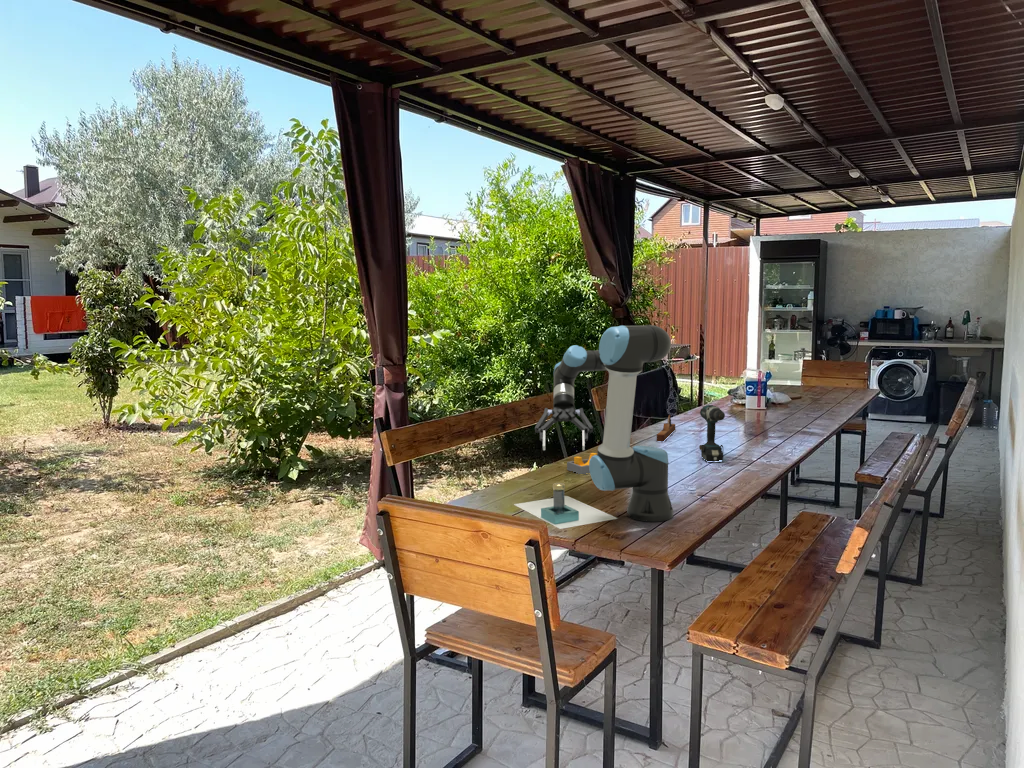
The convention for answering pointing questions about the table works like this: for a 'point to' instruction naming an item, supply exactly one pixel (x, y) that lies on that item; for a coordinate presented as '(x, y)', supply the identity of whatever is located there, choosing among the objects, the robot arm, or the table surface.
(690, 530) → the table surface
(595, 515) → the board
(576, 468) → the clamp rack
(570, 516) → the teal square frame
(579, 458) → the pipe clamp
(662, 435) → the hand plane
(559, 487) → the gold capped grey cylinder
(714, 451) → the power drill
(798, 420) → the table surface
